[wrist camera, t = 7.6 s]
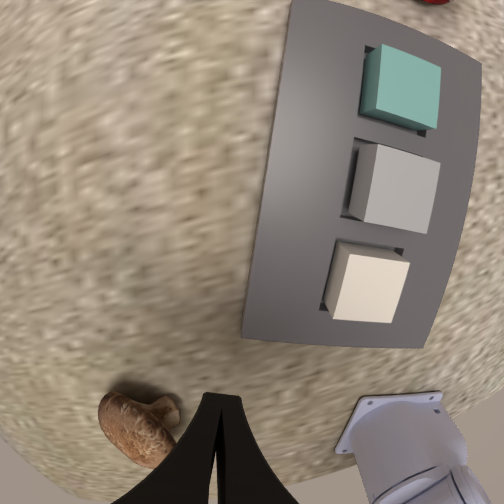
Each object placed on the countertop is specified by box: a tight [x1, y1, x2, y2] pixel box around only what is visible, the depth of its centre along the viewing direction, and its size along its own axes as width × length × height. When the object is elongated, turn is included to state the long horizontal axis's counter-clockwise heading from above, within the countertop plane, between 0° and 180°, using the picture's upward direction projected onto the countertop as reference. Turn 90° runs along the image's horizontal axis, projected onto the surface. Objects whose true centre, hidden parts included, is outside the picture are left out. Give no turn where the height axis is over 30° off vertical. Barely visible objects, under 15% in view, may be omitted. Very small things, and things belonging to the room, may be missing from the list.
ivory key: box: [323, 241, 410, 323], centre depth 19 cm, size 4×4×3 cm
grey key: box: [348, 144, 441, 234], centre depth 16 cm, size 4×4×3 cm
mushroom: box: [98, 391, 180, 469], centre depth 22 cm, size 8×8×6 cm
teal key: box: [359, 44, 441, 131], centre depth 15 cm, size 4×4×3 cm
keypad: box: [241, 0, 482, 348], centre depth 18 cm, size 14×22×2 cm, turn 172°
